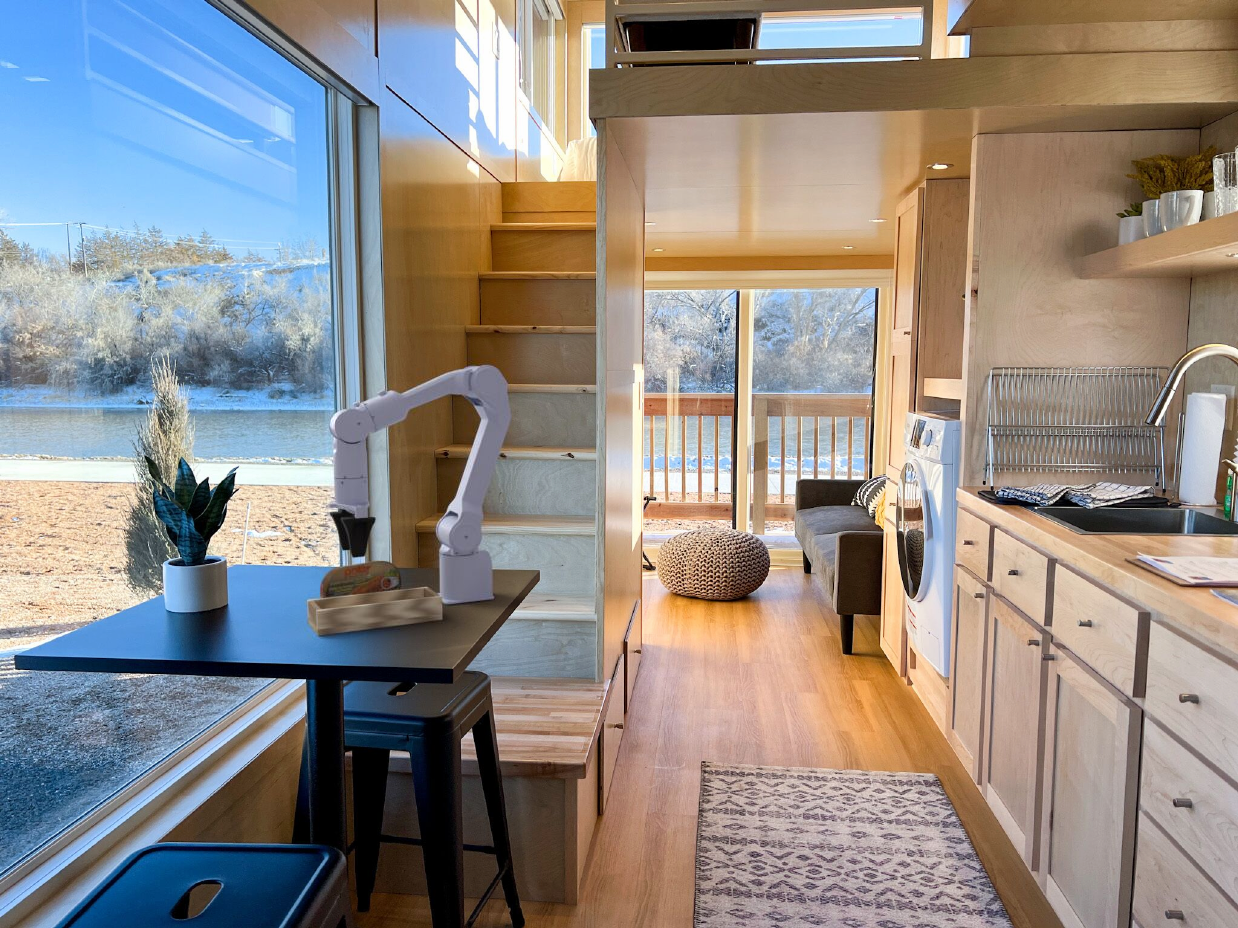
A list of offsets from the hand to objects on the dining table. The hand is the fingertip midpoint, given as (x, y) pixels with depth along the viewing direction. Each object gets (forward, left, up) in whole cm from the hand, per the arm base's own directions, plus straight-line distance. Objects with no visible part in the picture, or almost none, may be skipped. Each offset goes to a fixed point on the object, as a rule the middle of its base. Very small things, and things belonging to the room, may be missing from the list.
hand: (353, 553), depth 159 cm
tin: (-1, 0, -11) cm, 11 cm away
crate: (-1, +10, -10) cm, 14 cm away
